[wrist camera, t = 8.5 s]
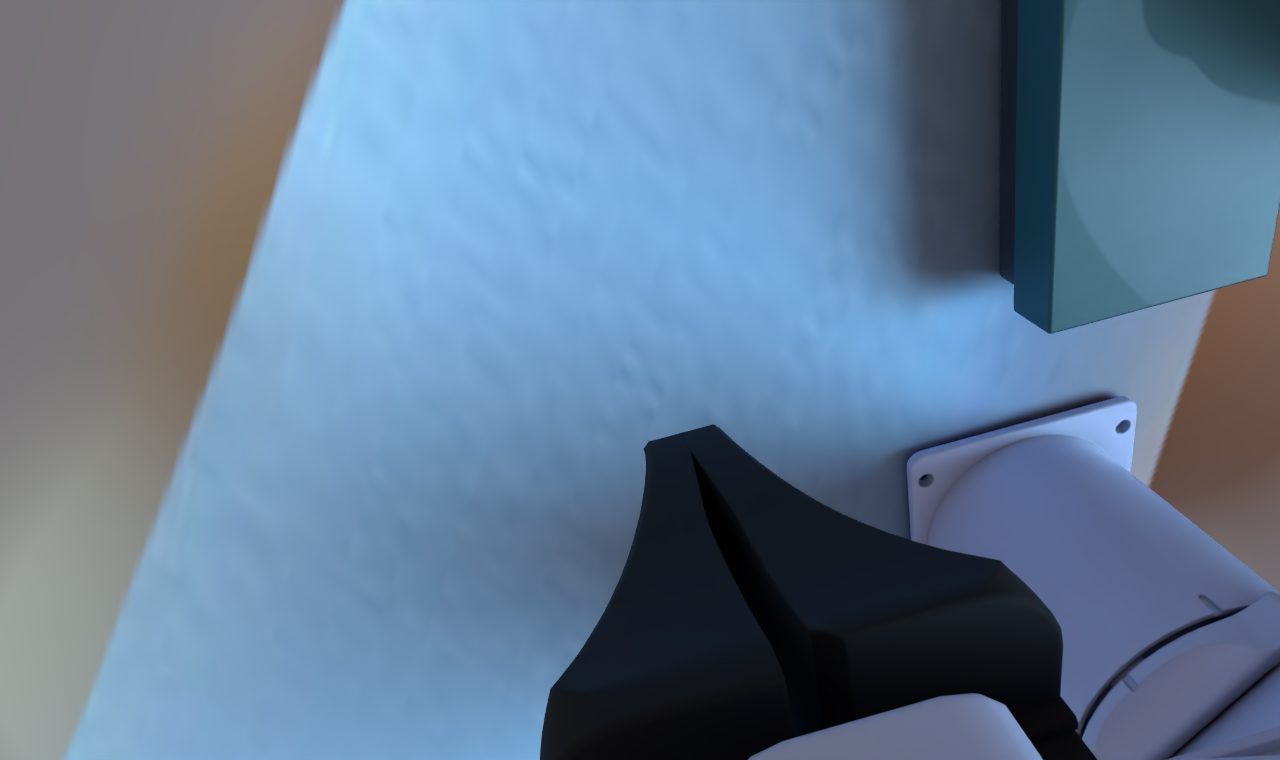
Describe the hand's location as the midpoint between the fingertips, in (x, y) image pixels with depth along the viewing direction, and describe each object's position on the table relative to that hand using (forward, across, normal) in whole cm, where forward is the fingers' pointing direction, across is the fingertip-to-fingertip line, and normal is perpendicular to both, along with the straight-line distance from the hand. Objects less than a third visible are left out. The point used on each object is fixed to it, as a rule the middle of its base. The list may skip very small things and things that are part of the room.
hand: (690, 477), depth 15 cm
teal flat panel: (+9, -14, -3) cm, 17 cm away
